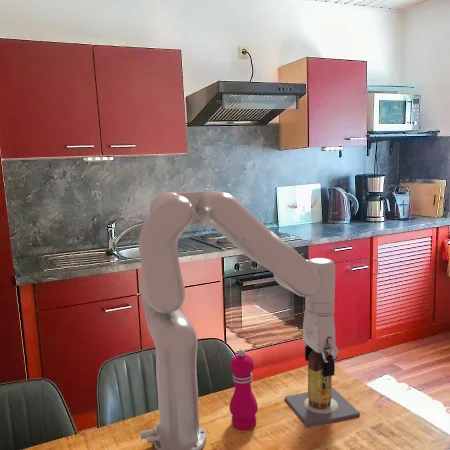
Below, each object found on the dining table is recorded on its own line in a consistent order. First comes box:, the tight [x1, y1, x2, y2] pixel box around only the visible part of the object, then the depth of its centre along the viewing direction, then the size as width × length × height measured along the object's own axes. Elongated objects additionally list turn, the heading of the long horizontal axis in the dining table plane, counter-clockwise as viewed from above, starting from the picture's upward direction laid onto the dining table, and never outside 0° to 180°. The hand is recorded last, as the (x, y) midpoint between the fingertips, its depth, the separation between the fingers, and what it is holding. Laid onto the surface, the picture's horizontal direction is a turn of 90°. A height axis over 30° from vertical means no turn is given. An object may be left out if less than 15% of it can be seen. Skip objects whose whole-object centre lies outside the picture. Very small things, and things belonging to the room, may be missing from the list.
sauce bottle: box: [307, 348, 333, 409], centre depth 120 cm, size 6×6×20 cm
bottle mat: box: [284, 387, 361, 428], centre depth 121 cm, size 15×14×1 cm
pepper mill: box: [229, 348, 259, 431], centre depth 114 cm, size 7×7×20 cm
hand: (319, 367), depth 120 cm, fingers open, 9 cm apart
